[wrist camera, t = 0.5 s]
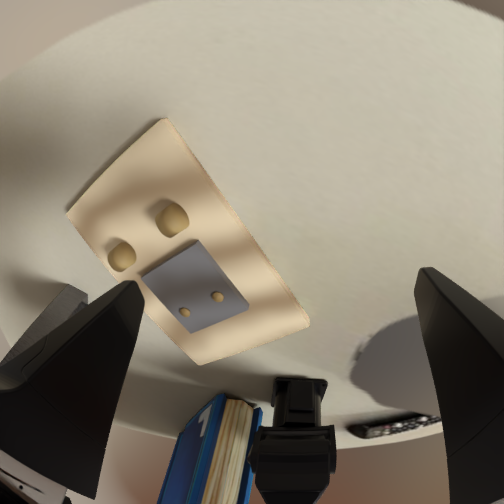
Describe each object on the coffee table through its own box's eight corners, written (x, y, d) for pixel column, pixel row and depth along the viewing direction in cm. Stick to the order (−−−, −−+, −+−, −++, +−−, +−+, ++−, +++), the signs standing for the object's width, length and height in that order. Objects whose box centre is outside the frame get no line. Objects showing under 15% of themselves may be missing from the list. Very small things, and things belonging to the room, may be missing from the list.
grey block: (111, 306, 31) (46, 401, 18) (109, 335, 34) (56, 422, 21) (68, 284, 30) (-2, 365, 18) (70, 313, 33) (12, 391, 21)
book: (208, 446, 47) (180, 556, 25) (174, 433, 46) (139, 545, 24) (265, 405, 36) (240, 575, 15) (219, 387, 35) (174, 564, 14)
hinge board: (309, 318, 28) (310, 342, 25) (201, 358, 33) (193, 380, 30) (167, 117, 20) (148, 121, 17) (72, 209, 25) (52, 223, 22)
